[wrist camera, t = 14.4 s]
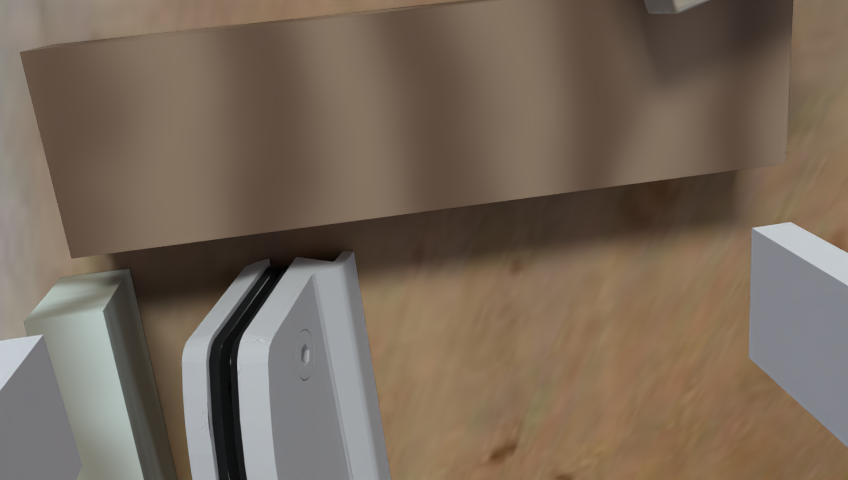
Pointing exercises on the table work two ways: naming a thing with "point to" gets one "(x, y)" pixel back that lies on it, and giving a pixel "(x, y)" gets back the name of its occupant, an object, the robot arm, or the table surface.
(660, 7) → the block tower
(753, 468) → the table surface
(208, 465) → the grey arched slotted casing
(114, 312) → the board
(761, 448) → the table surface
